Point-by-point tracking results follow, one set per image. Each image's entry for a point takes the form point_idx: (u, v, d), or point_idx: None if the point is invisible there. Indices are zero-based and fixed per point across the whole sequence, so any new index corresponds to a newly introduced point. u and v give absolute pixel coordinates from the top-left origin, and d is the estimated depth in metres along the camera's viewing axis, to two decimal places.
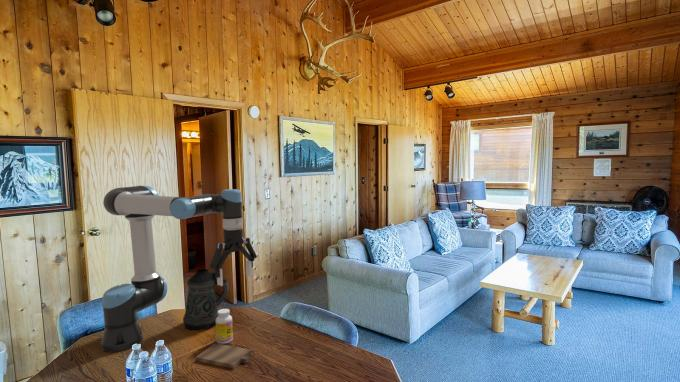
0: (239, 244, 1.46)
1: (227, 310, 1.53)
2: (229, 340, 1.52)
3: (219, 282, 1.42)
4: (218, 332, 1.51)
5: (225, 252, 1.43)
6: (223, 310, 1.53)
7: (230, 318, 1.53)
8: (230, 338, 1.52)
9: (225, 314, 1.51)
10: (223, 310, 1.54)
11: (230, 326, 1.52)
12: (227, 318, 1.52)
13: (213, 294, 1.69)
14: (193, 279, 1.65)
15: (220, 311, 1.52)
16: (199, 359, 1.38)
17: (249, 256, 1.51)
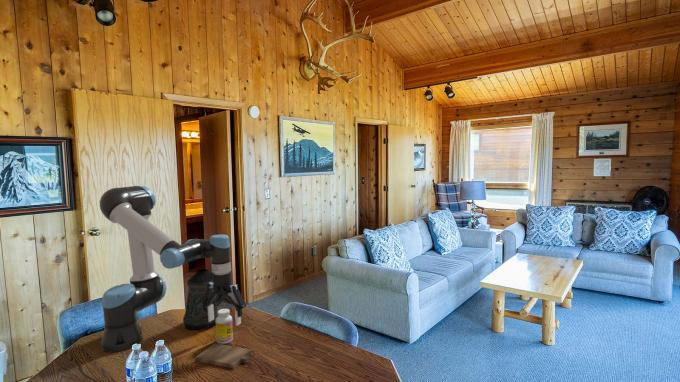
0: (222, 289, 1.50)
1: (227, 310, 1.53)
2: (229, 340, 1.52)
3: None
4: (218, 332, 1.51)
5: None
6: (223, 310, 1.53)
7: (230, 318, 1.53)
8: (230, 338, 1.52)
9: (225, 314, 1.51)
10: (223, 310, 1.54)
11: (230, 326, 1.52)
12: (227, 318, 1.52)
13: None
14: (193, 279, 1.65)
15: (220, 311, 1.52)
16: (199, 359, 1.38)
17: (234, 304, 1.49)
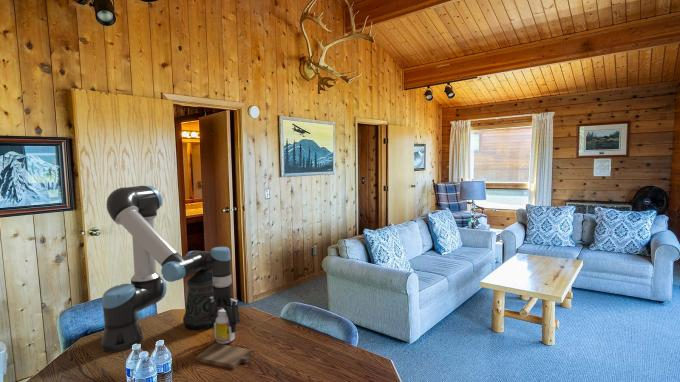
0: (222, 302, 1.50)
1: None
2: None
3: None
4: (218, 332, 1.51)
5: None
6: (223, 310, 1.53)
7: None
8: None
9: (225, 314, 1.51)
10: (223, 309, 1.54)
11: None
12: (227, 318, 1.52)
13: None
14: (193, 279, 1.65)
15: (220, 311, 1.52)
16: (199, 359, 1.38)
17: (229, 319, 1.51)
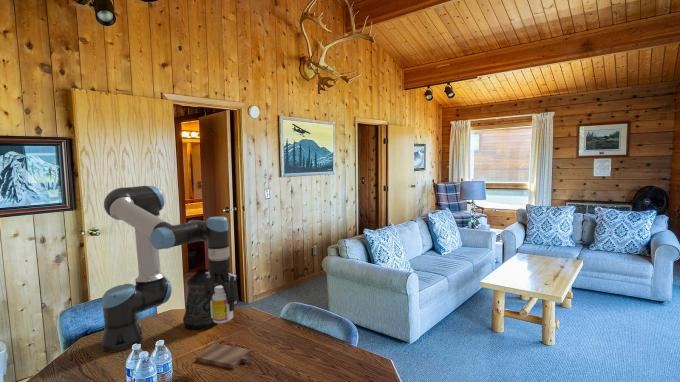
0: (219, 277, 1.36)
1: None
2: None
3: None
4: (215, 310, 1.36)
5: None
6: (220, 286, 1.39)
7: None
8: None
9: (222, 290, 1.37)
10: (220, 286, 1.40)
11: None
12: (225, 295, 1.37)
13: None
14: (193, 279, 1.65)
15: (217, 287, 1.38)
16: (199, 359, 1.38)
17: (227, 296, 1.36)
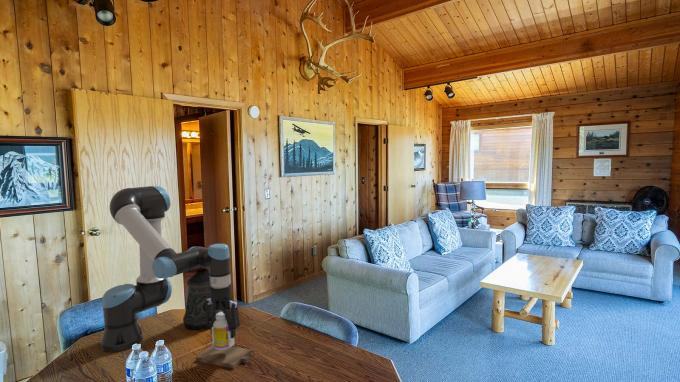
0: (220, 304, 1.37)
1: None
2: (228, 346, 1.38)
3: None
4: (216, 337, 1.37)
5: None
6: (222, 313, 1.40)
7: None
8: None
9: (224, 317, 1.38)
10: (221, 313, 1.41)
11: None
12: (226, 322, 1.38)
13: None
14: (193, 279, 1.65)
15: (218, 314, 1.39)
16: (199, 359, 1.38)
17: (228, 324, 1.37)
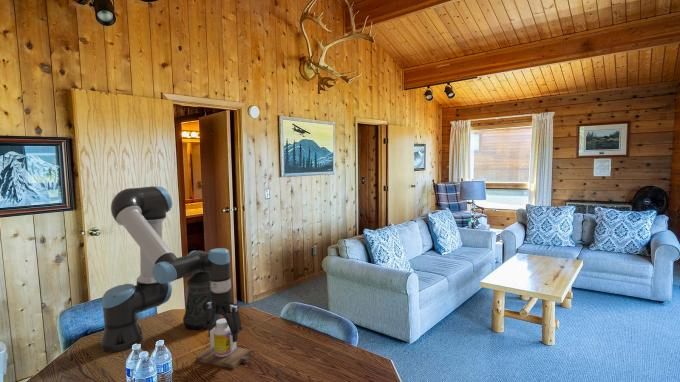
0: (221, 309, 1.37)
1: None
2: (228, 353, 1.39)
3: None
4: (216, 344, 1.38)
5: None
6: (222, 320, 1.40)
7: (229, 329, 1.39)
8: (229, 351, 1.39)
9: (224, 325, 1.38)
10: (221, 319, 1.41)
11: (229, 337, 1.39)
12: (226, 329, 1.38)
13: None
14: (193, 279, 1.65)
15: (219, 321, 1.39)
16: (199, 359, 1.38)
17: (230, 328, 1.37)
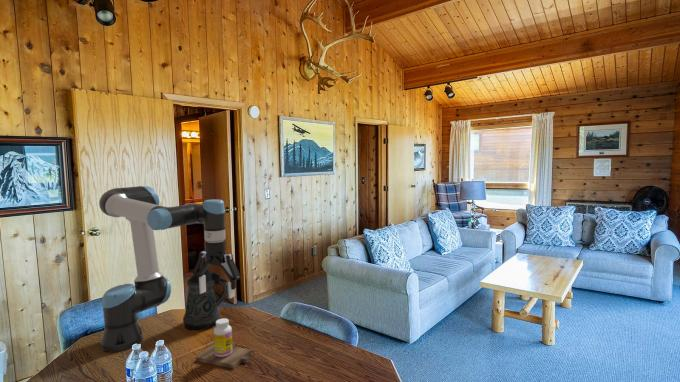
0: (215, 258, 1.38)
1: (226, 320, 1.40)
2: (228, 353, 1.39)
3: None
4: (216, 344, 1.38)
5: None
6: (222, 320, 1.40)
7: (229, 329, 1.39)
8: (229, 351, 1.39)
9: (224, 324, 1.38)
10: (221, 319, 1.41)
11: (229, 337, 1.39)
12: (226, 329, 1.38)
13: (213, 294, 1.69)
14: (193, 279, 1.65)
15: (218, 321, 1.39)
16: (199, 359, 1.38)
17: (228, 275, 1.37)
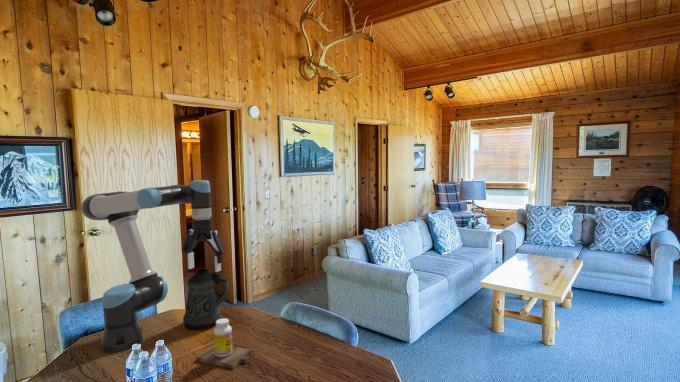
0: (202, 235, 1.47)
1: (226, 320, 1.40)
2: (228, 353, 1.39)
3: None
4: (216, 344, 1.38)
5: None
6: (222, 320, 1.40)
7: (229, 329, 1.39)
8: (229, 351, 1.39)
9: (224, 324, 1.38)
10: (221, 319, 1.41)
11: (229, 337, 1.39)
12: (226, 329, 1.38)
13: (213, 294, 1.69)
14: (193, 279, 1.65)
15: (218, 321, 1.39)
16: (199, 359, 1.38)
17: (214, 250, 1.47)
